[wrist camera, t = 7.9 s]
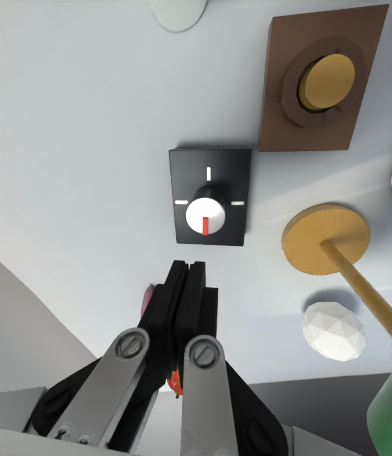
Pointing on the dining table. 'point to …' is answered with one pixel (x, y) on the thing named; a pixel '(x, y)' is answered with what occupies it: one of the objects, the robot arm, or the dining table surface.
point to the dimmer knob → (206, 210)
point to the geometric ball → (334, 331)
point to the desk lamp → (343, 262)
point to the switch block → (301, 62)
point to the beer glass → (176, 13)
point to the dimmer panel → (215, 177)
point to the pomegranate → (175, 383)
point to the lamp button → (327, 82)
